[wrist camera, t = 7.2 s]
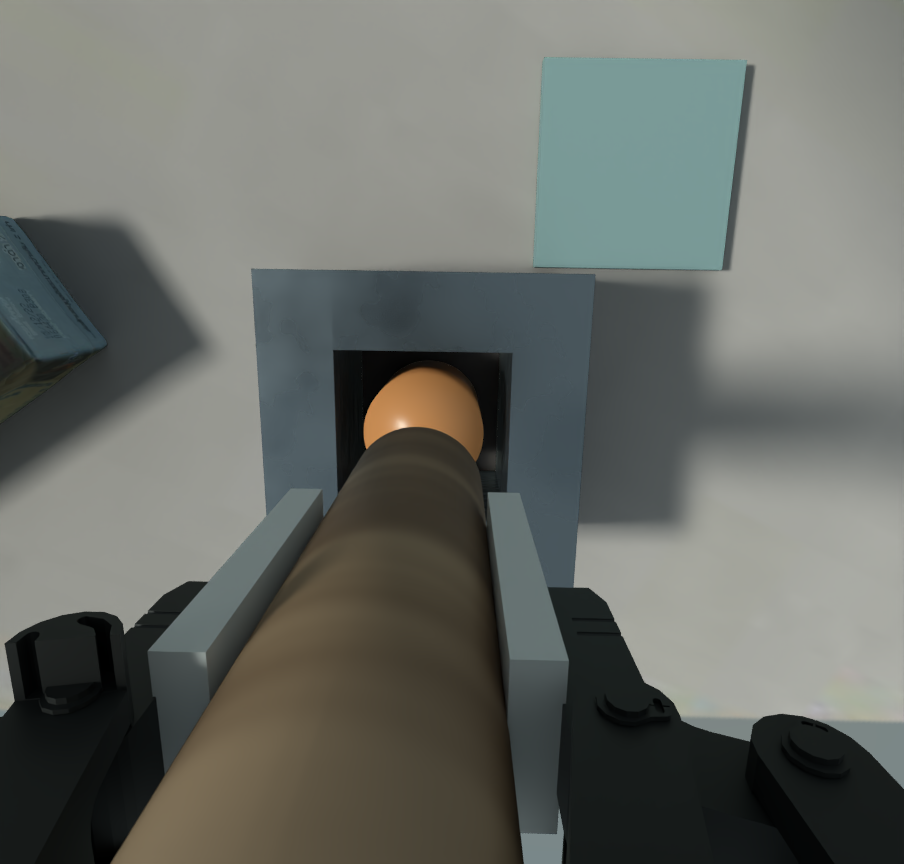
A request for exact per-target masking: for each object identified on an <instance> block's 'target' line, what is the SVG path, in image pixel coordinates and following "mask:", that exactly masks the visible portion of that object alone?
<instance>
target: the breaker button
mask: <svg viewBox="0 0 904 864" xmlns="http://www.w3.org/2000/svg"><path fill="white" fill-rule="evenodd" d="M407 427H426V428H431V429H435V430H438V431H441V432H443V433H445V434H447V435H449V436H451V437H453V438H454V439H456V440H457V441H458V442H459V443H461V444H462V445H463V446H464V447H465V448H466V449H467V451H468V452H469V453H470V454H471V456H472V457H473V459H474V461H475V462H476V460H477V458H478V457H479V454H480V451H481V448H482V444H483V435H484V434H483V423H482V417H481V412H480V407H479V402H478V397H477V394H476V391H475V389H474V387H473V385H472V384H471V382H470V381H469V379H468V378H467V377H466V376H465V375H464V374H463V373H462V372H461V371H459V370H458V369H457V368H455V367H453V366H451V365H449V364H447V363H444V362H440V361H434V360H423V361H417V362H414V363H411V364H408V365H406V366H404V367H403V368H401V369H400V370H398V371H397V372H396V373H395V374H394V375H393V376H392V377H391V378H390V379H389V380H388V382H387V383H386V384H385V385H384V387H383V388H382V389H381V391H380V392H379V393H378V394H377V396H376V397H375V398H374V400H373V401H372V403H371V405H370V407H369V409H368V411H367V414H366V417H365V422H364V441H365V446H366V449H367V448H368V447H369V446H370V445H371V444H372V443H373V442H375V441H376V440H377V439H379V438H380V437H382V436H383V435H385V434H387V433H389V432H391V431H394V430H398V429H401V428H407Z"/></svg>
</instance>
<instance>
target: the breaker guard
mask: <svg viewBox="0 0 904 864" xmlns="http://www.w3.org/2000/svg"><path fill="white" fill-rule="evenodd" d="M251 272H252V288H253V304H254V321H255V337H256V353H257V369H258V385H259V401H260V417H261V433H262V449H263V466H264V482H265V498H266V514H267V515H268V514H269V513H270V511H271V510H272V509H273V508H274V507H275V506H276V505H277V504H278V502H279V501H280V500H281V499H282V498H283V497H284V496H285V494H286V493H287V492H288V491H289V490H290V489H291V488H296V489H322V491H323V518H324V516H325V515H326V513H327V511H328V510H329V508H330V506H331V505H332V503H333V502H334V500H335V498H336V497H337V495H338V494H339V492H340V490H341V489H342V487H343V485H344V484H345V482H346V481H347V479H348V477H349V476H350V474H351V472H352V471H353V469H354V468H355V466H356V464H357V463H358V461H359V460H360V458H361V456H362V455H363V454H364V426H363V376H362V350H371V351H430V352H490V353H499V382H498V411H497V440H496V469H495V471H479V473H480V477H481V482H482V491H483V500H484V509H485V518H486V527H487V496H488V492H498V493H520V496H521V500H522V503H523V507H524V510H525V513H526V517H527V520H528V524H529V527H530V530H531V534H532V537H533V541H534V544H535V547H536V551H537V554H538V558H539V561H540V564H541V568H542V571H543V575H544V578H545V581H546V585H547V587H565V588H573V585H574V571H575V557H576V543H577V529H578V515H579V500H580V486H581V472H582V458H583V444H584V430H585V415H586V401H587V387H588V373H589V359H590V345H591V330H592V316H593V302H594V288H595V274H544V273H482V272H419V271H357V270H294V269H251Z"/></svg>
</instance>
